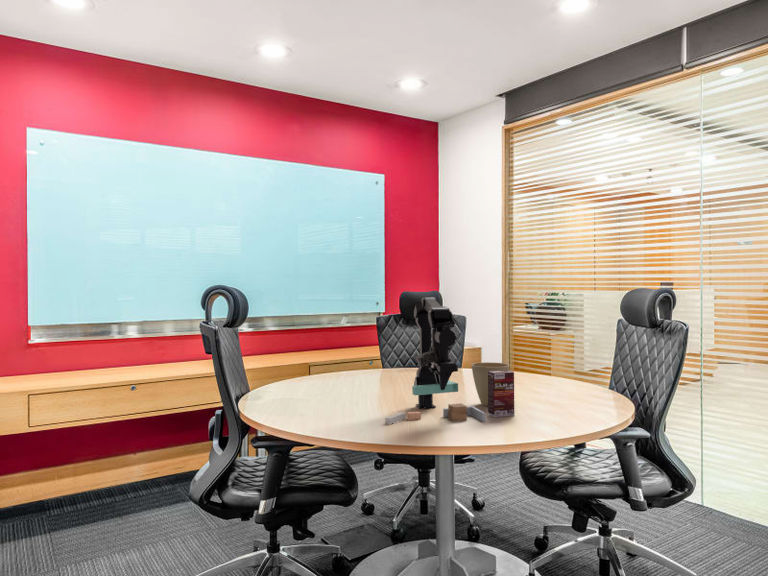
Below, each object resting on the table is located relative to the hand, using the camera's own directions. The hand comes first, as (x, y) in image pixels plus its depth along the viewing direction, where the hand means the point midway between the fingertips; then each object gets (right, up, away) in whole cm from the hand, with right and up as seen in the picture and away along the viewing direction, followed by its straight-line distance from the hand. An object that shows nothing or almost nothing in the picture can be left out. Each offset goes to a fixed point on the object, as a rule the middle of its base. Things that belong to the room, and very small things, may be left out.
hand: (441, 389), depth 186 cm
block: (+6, -12, +7) cm, 15 cm away
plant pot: (+23, -12, +30) cm, 39 cm away
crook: (-3, -1, +2) cm, 4 cm away
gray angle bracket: (+9, -12, +7) cm, 16 cm away
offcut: (-9, -12, +8) cm, 17 cm away
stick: (-16, -13, +5) cm, 21 cm away
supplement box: (+23, -12, +11) cm, 28 cm away
